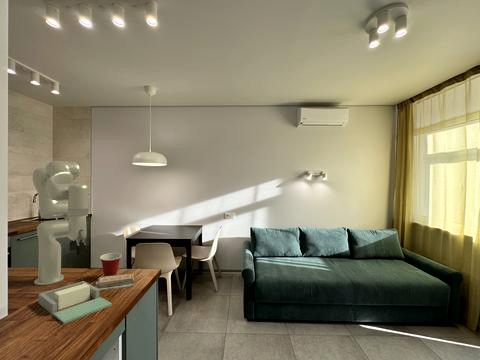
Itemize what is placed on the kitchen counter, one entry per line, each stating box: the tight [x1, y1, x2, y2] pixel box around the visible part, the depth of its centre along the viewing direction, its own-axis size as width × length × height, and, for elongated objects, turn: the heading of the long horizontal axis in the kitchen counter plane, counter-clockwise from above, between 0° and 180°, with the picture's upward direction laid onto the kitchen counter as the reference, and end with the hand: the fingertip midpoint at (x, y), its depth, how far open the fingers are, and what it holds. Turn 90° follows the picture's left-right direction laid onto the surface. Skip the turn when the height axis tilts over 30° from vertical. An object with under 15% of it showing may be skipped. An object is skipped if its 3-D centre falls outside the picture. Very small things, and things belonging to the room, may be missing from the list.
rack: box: [37, 280, 100, 315], centre depth 112 cm, size 16×18×4 cm
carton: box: [54, 284, 91, 311], centre depth 111 cm, size 5×12×6 cm, turn 144°
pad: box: [53, 296, 113, 325], centre depth 104 cm, size 10×18×1 cm, turn 145°
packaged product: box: [94, 273, 135, 291], centre depth 130 cm, size 18×5×10 cm
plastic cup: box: [99, 252, 123, 277], centre depth 140 cm, size 11×11×12 cm
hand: (77, 252), depth 110 cm, fingers open, 9 cm apart
